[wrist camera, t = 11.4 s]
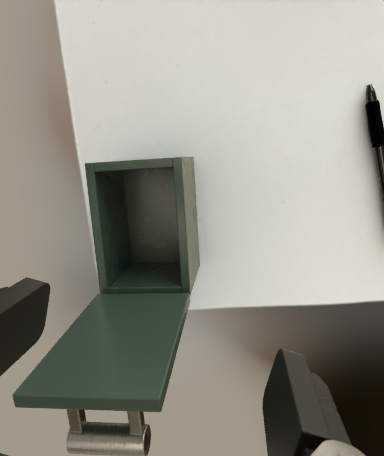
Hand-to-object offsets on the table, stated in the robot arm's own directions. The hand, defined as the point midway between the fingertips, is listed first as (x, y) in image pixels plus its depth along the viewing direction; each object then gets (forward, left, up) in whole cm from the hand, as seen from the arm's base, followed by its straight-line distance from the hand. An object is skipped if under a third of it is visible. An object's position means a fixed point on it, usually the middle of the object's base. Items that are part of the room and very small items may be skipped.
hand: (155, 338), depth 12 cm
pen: (+10, +13, -23) cm, 29 cm away
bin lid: (-1, -7, -9) cm, 12 cm away
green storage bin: (-4, -3, -23) cm, 24 cm away
